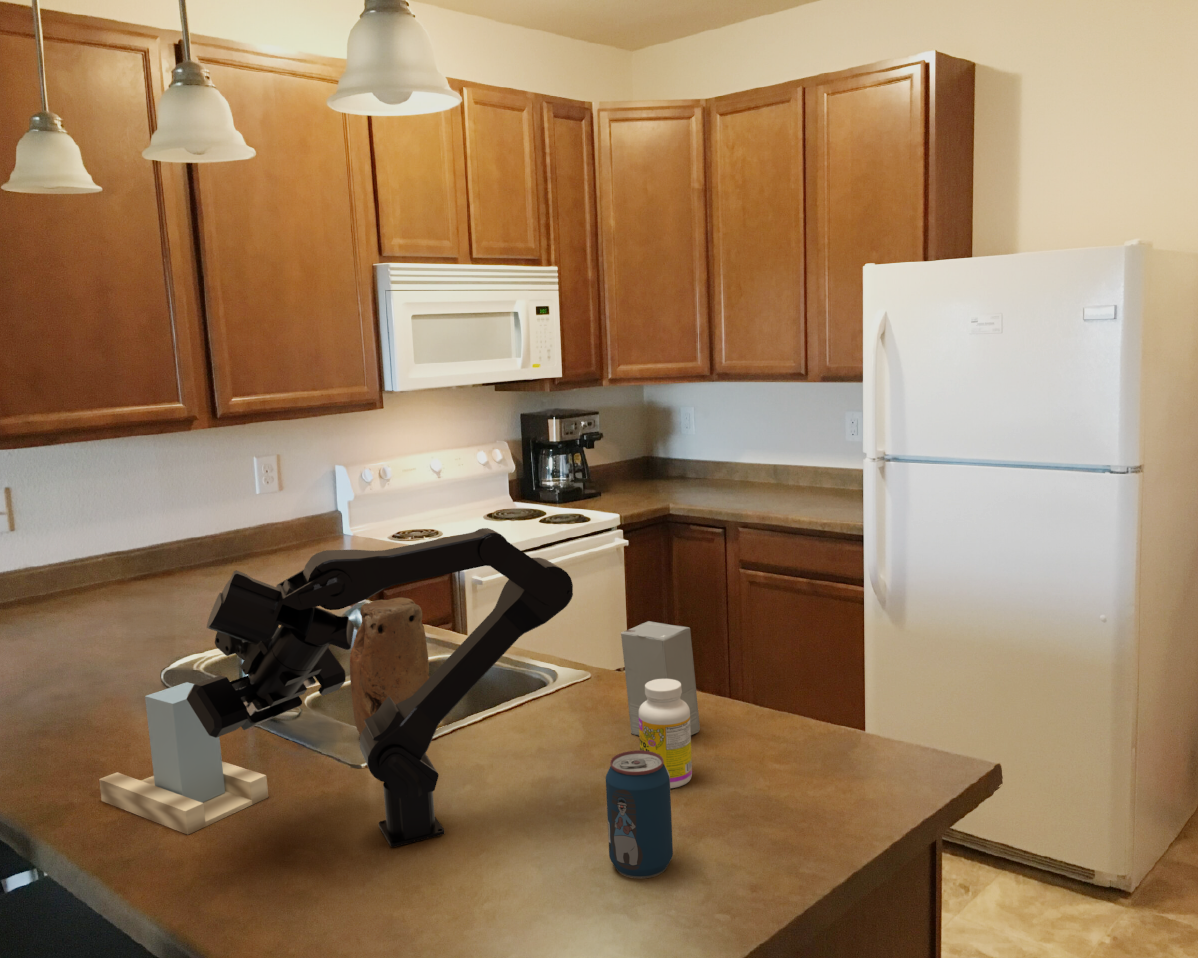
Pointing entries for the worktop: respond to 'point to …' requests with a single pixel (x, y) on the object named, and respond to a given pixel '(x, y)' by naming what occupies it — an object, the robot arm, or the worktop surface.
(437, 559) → the robot arm
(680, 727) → the supplement bottle
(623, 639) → the skincare box
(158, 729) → the grey rectangular block
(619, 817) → the soda can
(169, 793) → the chute
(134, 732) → the worktop surface
